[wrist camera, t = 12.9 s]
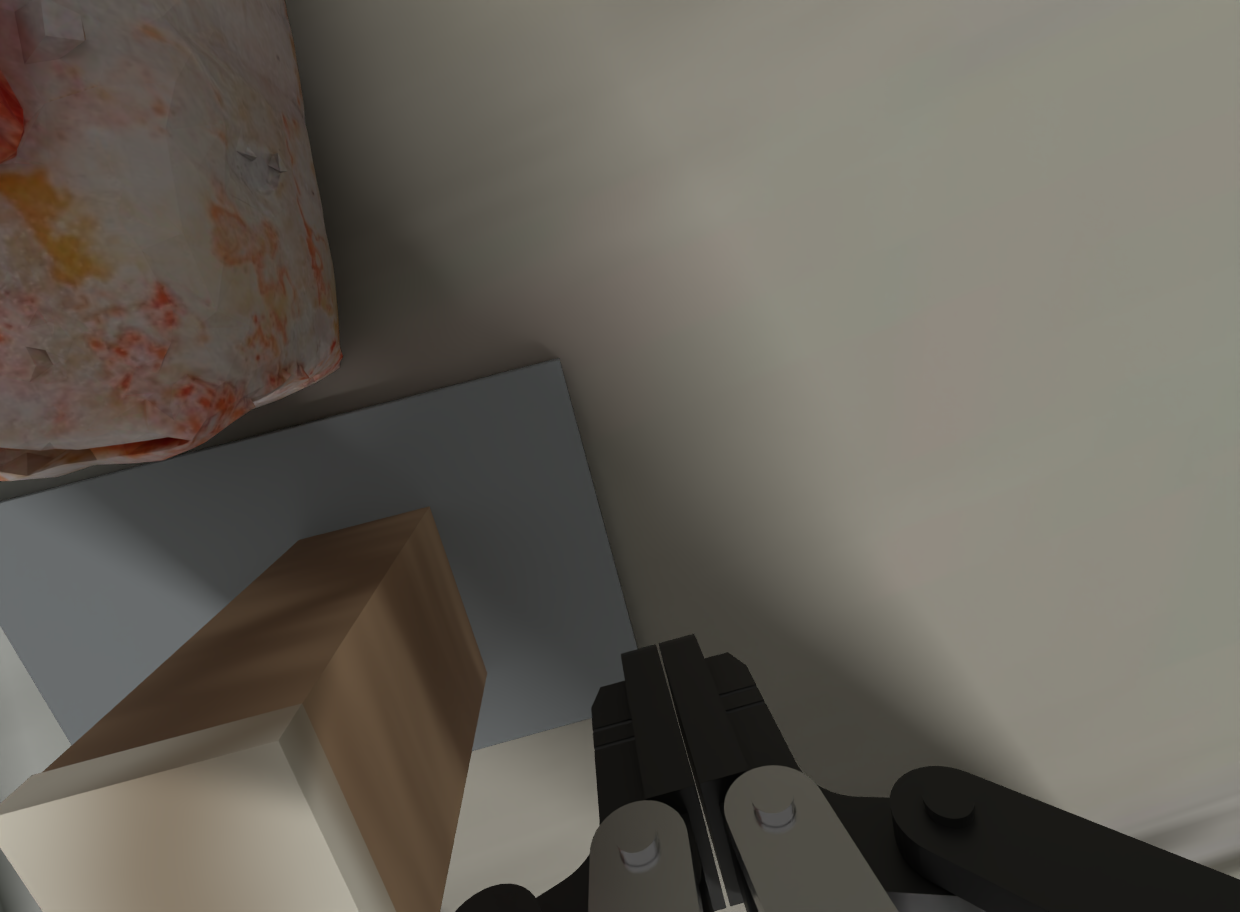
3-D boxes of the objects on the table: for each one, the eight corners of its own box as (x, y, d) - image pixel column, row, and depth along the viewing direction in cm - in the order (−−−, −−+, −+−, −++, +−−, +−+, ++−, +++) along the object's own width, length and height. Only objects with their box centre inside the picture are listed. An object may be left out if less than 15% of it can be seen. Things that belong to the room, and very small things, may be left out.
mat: (648, 690, 21) (651, 701, 20) (143, 829, 20) (131, 845, 20) (559, 357, 18) (559, 359, 17) (-42, 512, 17) (-64, 519, 17)
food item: (389, 403, 18) (193, 519, 8) (107, 425, 17) (-455, 578, 8) (295, -157, 14) (-229, -1067, 5) (-63, -153, 14) (-1477, -1187, 4)
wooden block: (430, 504, 18) (277, 741, 8) (489, 674, 20) (419, 1038, 10) (296, 538, 18) (-18, 820, 8) (366, 706, 19) (174, 1109, 10)
